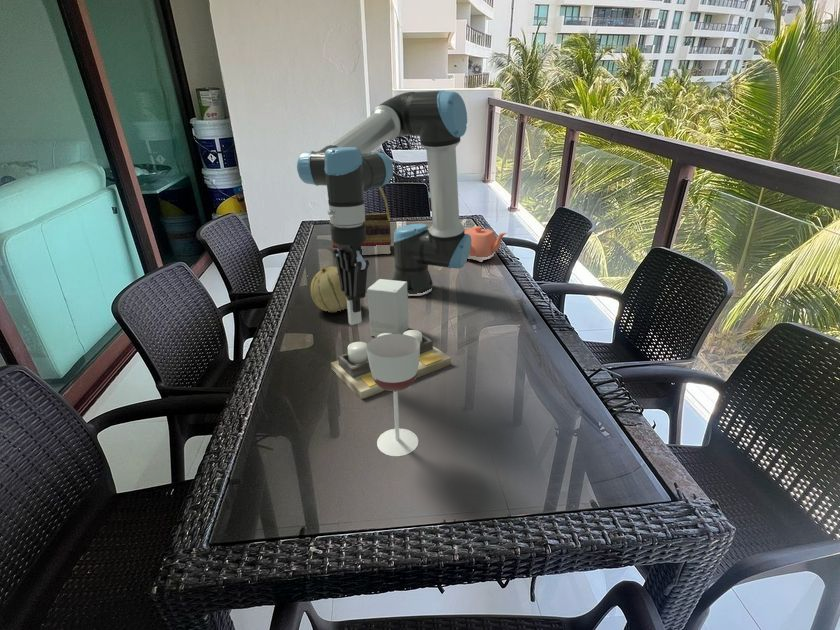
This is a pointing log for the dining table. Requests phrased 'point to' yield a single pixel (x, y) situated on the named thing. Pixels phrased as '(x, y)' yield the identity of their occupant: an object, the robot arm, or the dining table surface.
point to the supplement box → (388, 307)
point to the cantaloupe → (328, 290)
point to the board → (361, 376)
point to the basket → (376, 227)
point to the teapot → (483, 241)
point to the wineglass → (394, 383)
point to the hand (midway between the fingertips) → (355, 322)
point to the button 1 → (357, 353)
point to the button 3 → (414, 334)
